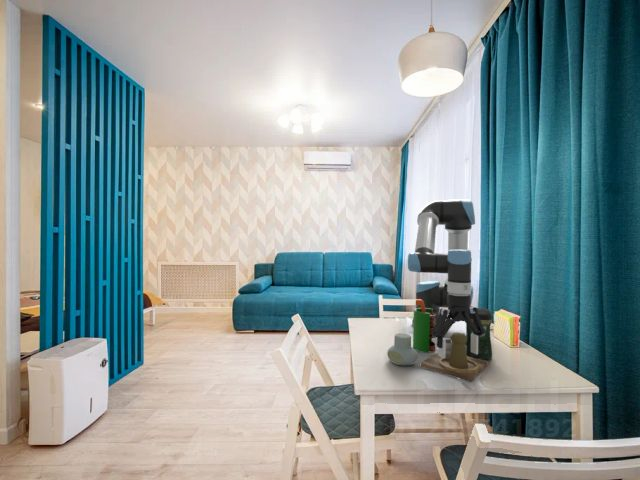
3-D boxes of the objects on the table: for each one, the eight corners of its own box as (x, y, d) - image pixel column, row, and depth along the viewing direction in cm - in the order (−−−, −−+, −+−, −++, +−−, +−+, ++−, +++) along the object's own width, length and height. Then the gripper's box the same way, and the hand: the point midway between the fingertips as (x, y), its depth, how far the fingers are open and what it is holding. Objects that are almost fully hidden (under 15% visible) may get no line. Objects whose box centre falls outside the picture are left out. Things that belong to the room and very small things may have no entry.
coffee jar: (491, 354, 125) (491, 307, 125) (493, 362, 118) (493, 311, 117) (463, 351, 129) (464, 305, 129) (464, 357, 121) (464, 309, 121)
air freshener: (383, 360, 118) (383, 333, 118) (397, 355, 123) (398, 330, 123) (407, 370, 110) (408, 341, 109) (422, 364, 115) (422, 337, 114)
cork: (459, 370, 107) (460, 337, 106) (445, 363, 112) (445, 332, 112) (471, 366, 109) (472, 334, 109) (457, 360, 115) (457, 330, 114)
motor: (437, 353, 126) (437, 303, 126) (413, 351, 128) (414, 302, 127) (433, 345, 136) (434, 298, 136) (411, 343, 138) (412, 297, 137)
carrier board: (441, 353, 126) (441, 334, 126) (488, 365, 114) (488, 344, 114) (420, 366, 113) (420, 345, 113) (471, 381, 101) (471, 358, 101)
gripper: (435, 297, 103) (434, 363, 103) (496, 294, 110) (495, 355, 111) (421, 293, 110) (420, 354, 111) (479, 290, 118) (479, 347, 118)
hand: (458, 355), depth 111 cm, fingers open, 13 cm apart
